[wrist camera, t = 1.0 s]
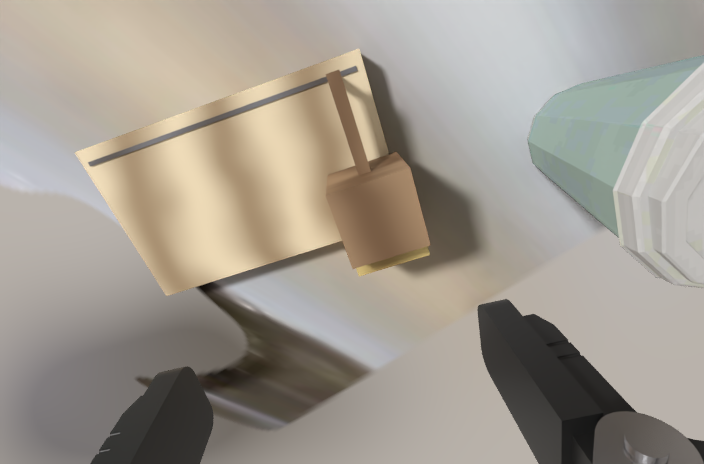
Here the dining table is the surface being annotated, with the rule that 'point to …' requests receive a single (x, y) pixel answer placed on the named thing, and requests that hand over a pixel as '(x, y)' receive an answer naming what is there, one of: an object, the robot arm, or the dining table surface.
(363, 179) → the brown block with handle
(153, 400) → the robot arm
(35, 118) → the dining table surface
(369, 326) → the dining table surface
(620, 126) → the disposable coffee cup
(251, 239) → the board
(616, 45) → the dining table surface
